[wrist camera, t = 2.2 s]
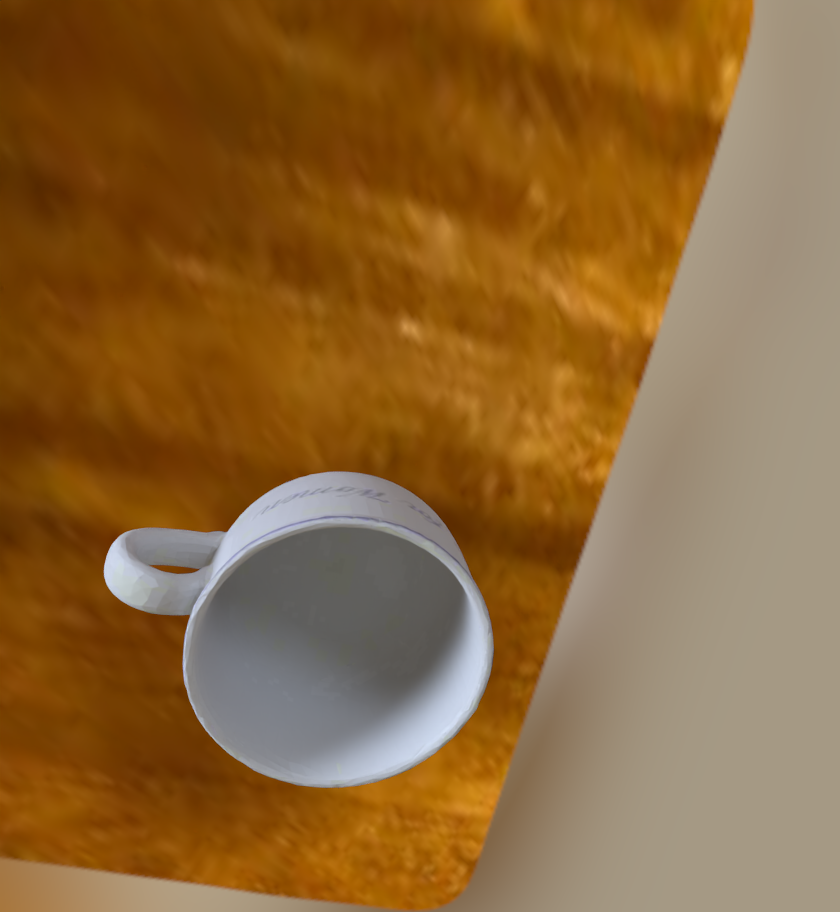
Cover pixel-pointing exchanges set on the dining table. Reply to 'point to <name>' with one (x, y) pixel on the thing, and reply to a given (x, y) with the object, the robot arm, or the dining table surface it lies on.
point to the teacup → (320, 628)
